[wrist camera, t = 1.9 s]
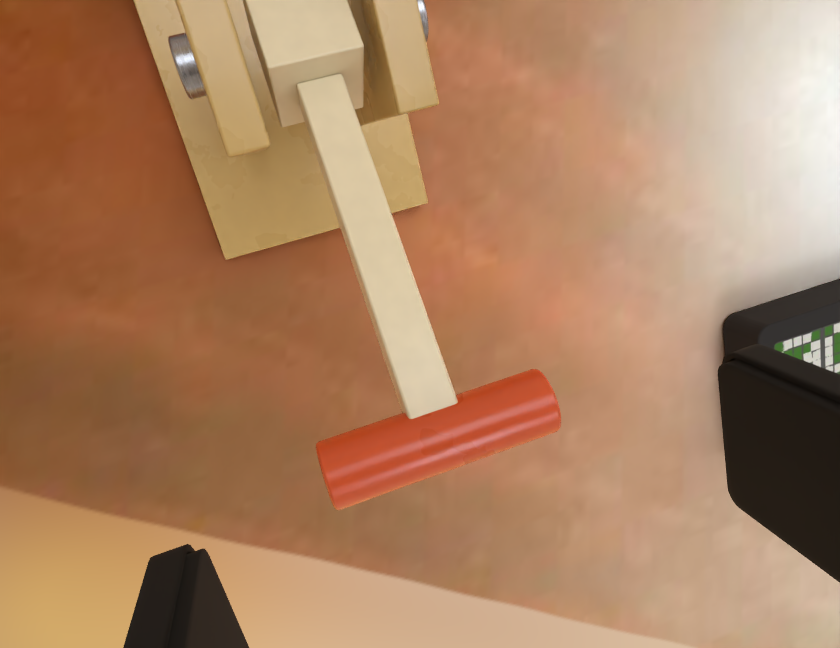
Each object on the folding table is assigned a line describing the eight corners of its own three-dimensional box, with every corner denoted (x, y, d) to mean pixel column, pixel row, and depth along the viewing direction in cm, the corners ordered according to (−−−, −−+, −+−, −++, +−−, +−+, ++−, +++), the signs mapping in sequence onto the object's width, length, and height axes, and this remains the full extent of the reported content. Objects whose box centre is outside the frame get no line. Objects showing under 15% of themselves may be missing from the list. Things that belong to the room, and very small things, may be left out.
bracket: (421, 201, 27) (544, 237, 16) (226, 255, 26) (197, 342, 14) (351, -99, 24) (442, -356, 12) (117, -55, 22) (-52, -297, 10)
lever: (542, 433, 14) (578, 427, 12) (338, 507, 13) (333, 516, 11) (381, 7, 16) (385, -68, 14) (198, 48, 16) (169, -26, 13)
